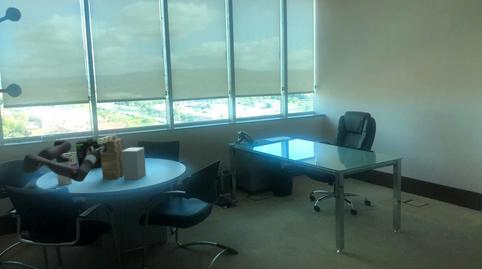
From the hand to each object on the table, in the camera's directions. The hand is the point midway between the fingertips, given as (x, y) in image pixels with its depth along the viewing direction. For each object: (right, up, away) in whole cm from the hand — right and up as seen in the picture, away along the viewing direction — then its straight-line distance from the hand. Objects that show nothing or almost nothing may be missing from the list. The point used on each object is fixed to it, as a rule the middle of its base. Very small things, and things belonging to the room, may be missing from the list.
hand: (100, 144), depth 286 cm
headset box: (-29, -22, +60) cm, 70 cm away
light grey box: (+21, -27, +17) cm, 38 cm away
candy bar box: (-42, -25, +44) cm, 66 cm away
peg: (+2, +2, +10) cm, 10 cm away
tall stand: (+4, -27, +20) cm, 34 cm away
